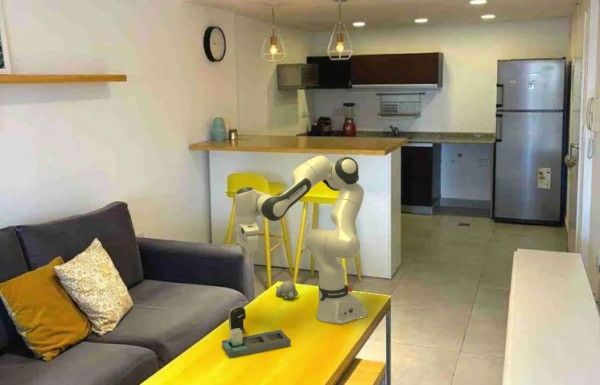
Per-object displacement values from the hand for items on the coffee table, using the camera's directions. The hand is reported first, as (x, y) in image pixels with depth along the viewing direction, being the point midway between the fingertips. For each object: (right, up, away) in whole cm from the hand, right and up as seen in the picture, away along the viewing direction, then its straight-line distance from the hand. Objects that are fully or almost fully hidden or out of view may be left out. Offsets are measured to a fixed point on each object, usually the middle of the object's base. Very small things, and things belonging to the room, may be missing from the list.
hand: (247, 257), depth 255 cm
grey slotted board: (+5, -33, -18) cm, 38 cm away
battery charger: (-3, -31, -6) cm, 32 cm away
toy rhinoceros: (+16, -23, +33) cm, 43 cm away
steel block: (-2, -34, -21) cm, 40 cm away
